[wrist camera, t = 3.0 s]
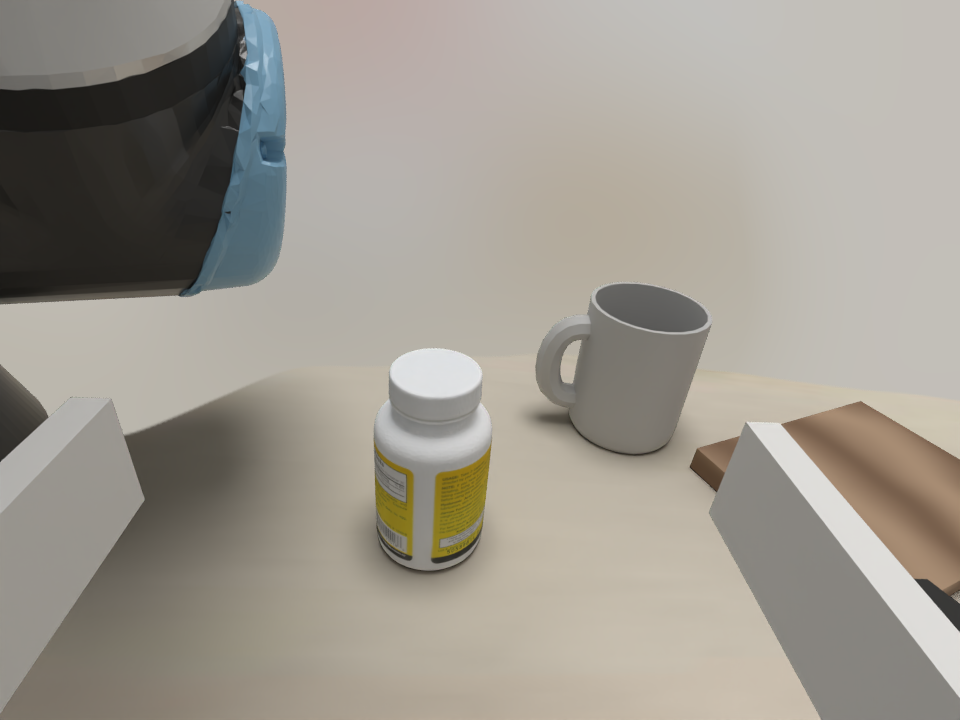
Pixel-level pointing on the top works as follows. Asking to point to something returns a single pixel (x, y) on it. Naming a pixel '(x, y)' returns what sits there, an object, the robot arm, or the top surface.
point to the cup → (627, 364)
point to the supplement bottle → (431, 459)
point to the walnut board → (878, 484)
